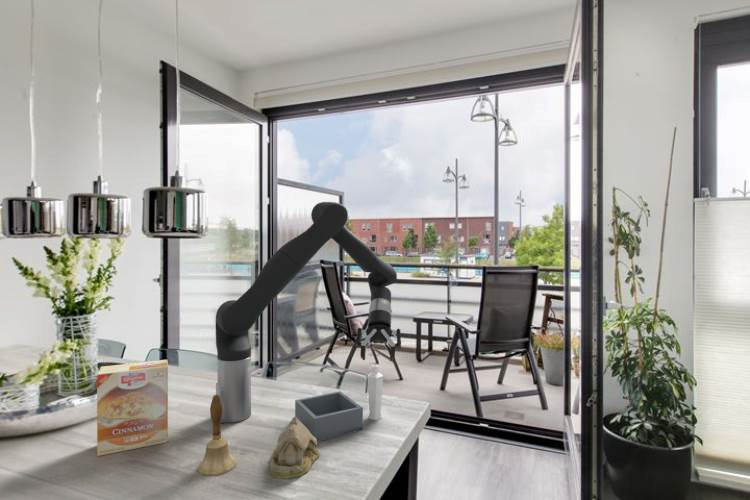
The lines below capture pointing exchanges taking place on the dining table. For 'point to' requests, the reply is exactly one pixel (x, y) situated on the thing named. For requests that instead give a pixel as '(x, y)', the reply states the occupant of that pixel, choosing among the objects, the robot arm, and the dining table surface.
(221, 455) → the hand bell
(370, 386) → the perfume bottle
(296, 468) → the ceramic model
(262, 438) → the dining table surface
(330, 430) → the tote
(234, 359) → the robot arm
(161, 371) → the coffeecake box
